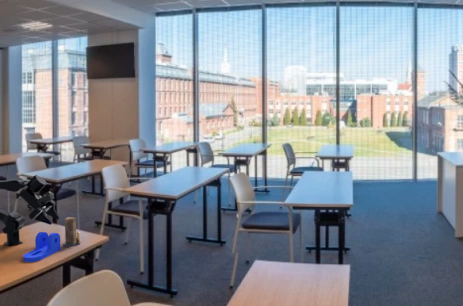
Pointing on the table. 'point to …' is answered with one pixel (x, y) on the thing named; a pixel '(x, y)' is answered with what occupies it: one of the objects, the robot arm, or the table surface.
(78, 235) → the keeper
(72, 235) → the link block
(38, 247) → the bracket
